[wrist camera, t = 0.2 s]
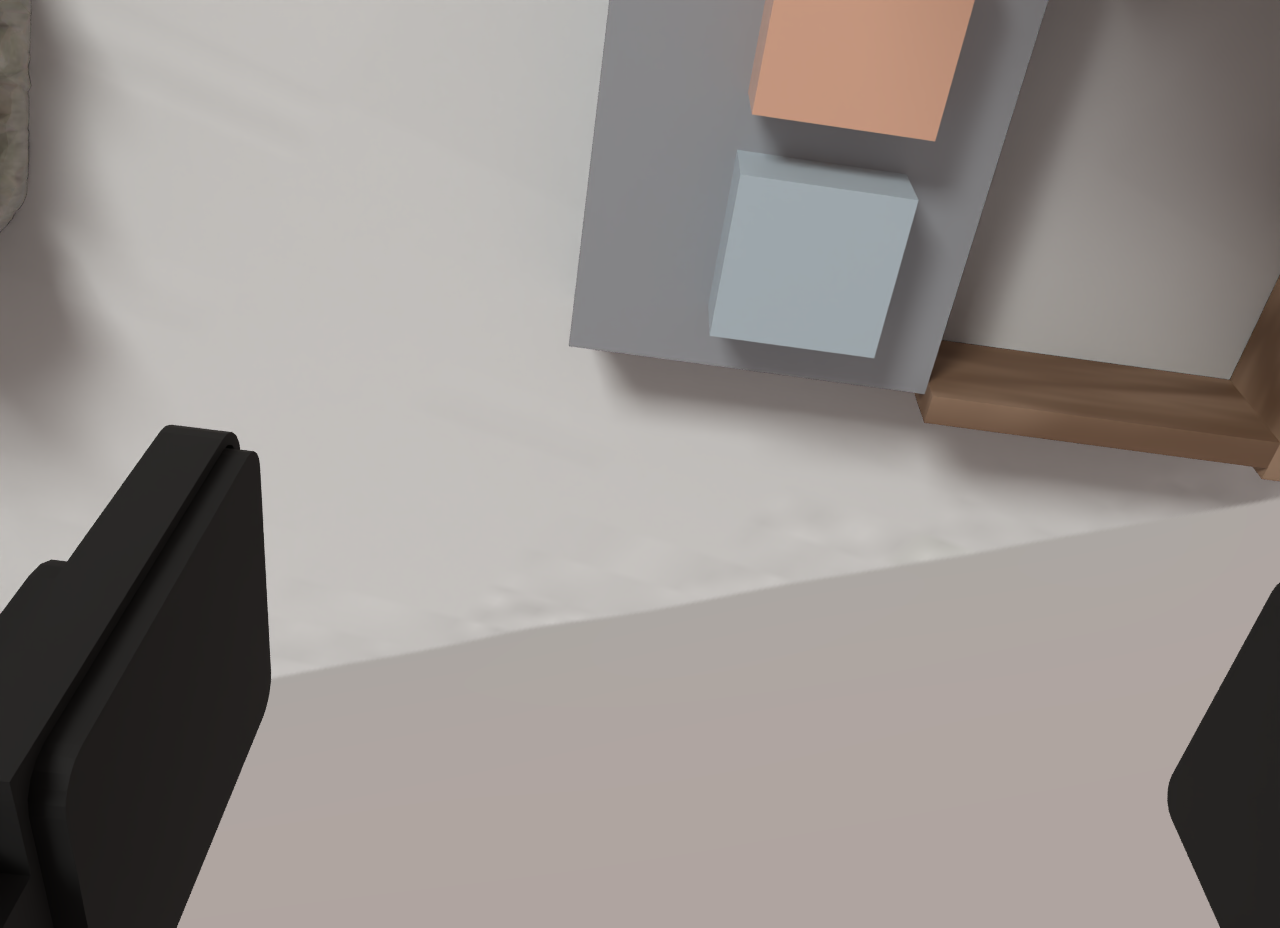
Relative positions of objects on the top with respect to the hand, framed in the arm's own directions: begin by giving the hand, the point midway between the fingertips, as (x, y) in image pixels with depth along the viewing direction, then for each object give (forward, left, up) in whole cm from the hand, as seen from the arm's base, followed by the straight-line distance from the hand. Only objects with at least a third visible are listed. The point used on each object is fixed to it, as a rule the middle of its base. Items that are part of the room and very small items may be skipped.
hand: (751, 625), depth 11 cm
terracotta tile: (+1, +5, -32) cm, 32 cm away
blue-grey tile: (+9, +5, -32) cm, 33 cm away
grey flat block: (+5, +4, -36) cm, 36 cm away
